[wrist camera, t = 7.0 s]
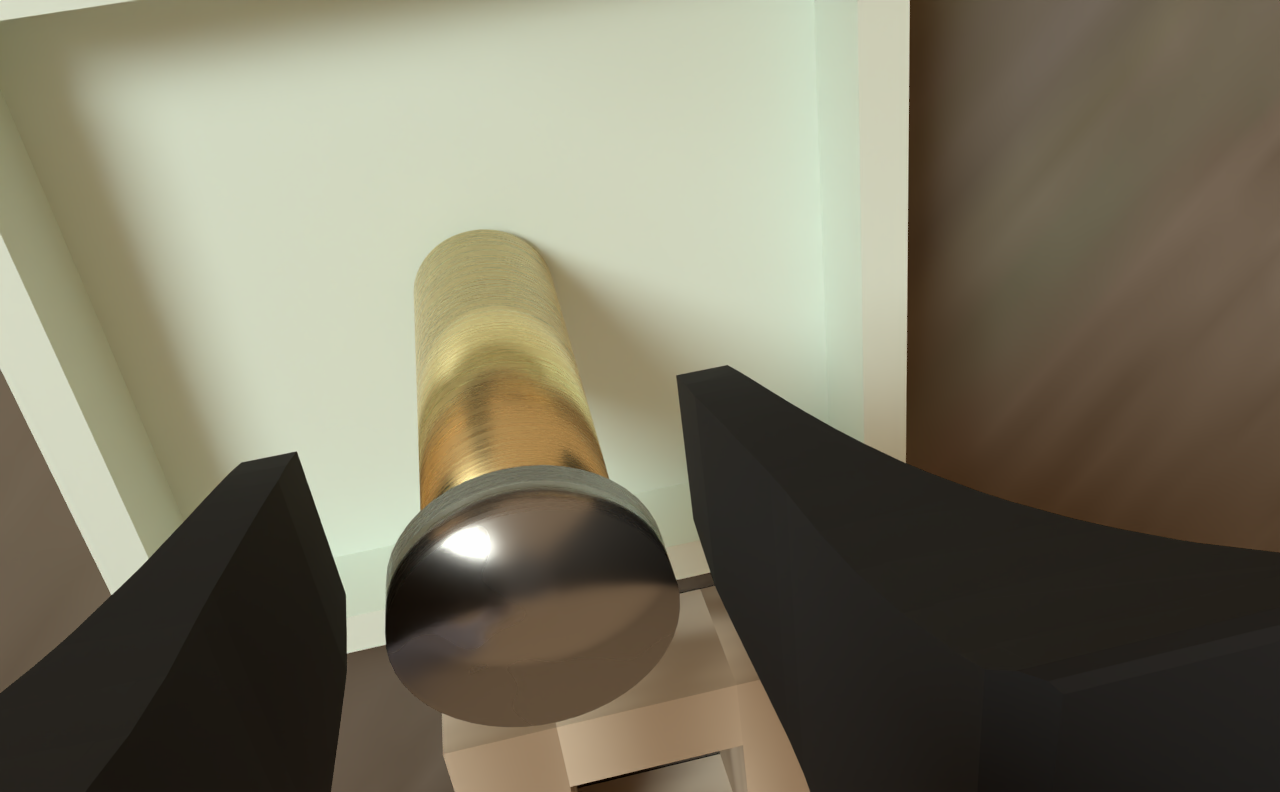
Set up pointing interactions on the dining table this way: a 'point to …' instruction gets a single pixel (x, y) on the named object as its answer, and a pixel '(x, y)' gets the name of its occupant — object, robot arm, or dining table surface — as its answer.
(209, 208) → the tray
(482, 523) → the pin
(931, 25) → the dining table surface
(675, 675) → the lock block
